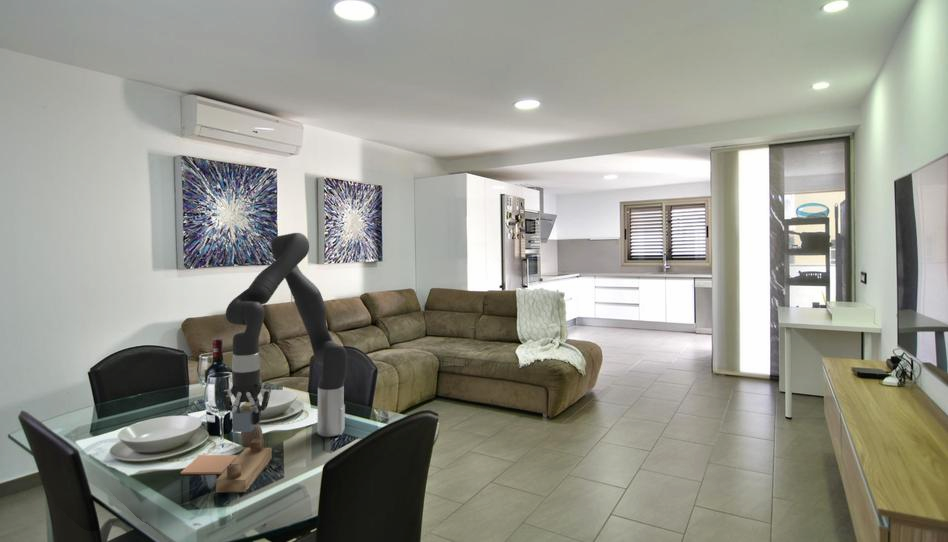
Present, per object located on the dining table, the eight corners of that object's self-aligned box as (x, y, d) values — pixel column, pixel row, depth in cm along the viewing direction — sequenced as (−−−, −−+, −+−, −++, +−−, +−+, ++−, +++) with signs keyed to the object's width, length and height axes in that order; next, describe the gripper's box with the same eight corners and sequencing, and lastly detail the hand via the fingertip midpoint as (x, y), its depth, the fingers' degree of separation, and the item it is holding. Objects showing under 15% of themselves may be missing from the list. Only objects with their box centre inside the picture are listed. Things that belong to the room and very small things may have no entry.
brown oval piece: (244, 441, 175) (244, 417, 175) (265, 441, 176) (265, 417, 175) (237, 450, 168) (237, 424, 168) (258, 449, 169) (258, 424, 168)
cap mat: (237, 456, 163) (237, 455, 163) (221, 474, 151) (221, 472, 151) (199, 457, 162) (199, 455, 162) (180, 474, 150) (180, 472, 150)
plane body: (271, 458, 163) (271, 438, 162) (245, 492, 141) (245, 469, 141) (246, 458, 162) (246, 438, 162) (216, 492, 140) (215, 469, 140)
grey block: (260, 421, 155) (259, 401, 154) (250, 431, 147) (250, 410, 147) (243, 421, 155) (243, 401, 154) (232, 431, 147) (232, 410, 146)
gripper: (274, 364, 154) (275, 419, 155) (226, 364, 153) (227, 419, 154) (266, 371, 146) (267, 428, 147) (215, 371, 145) (216, 429, 146)
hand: (246, 423), depth 151 cm, fingers closed on grey block, 5 cm apart
